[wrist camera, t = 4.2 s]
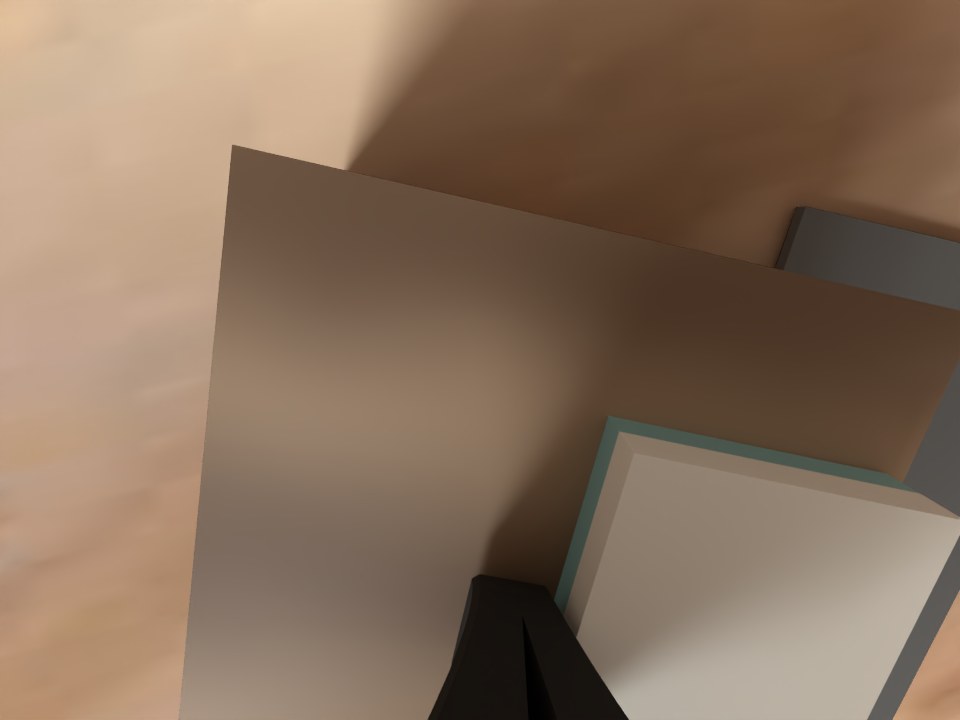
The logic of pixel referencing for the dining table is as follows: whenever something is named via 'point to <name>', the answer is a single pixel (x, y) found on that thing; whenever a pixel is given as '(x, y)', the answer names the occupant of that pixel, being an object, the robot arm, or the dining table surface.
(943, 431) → the mat
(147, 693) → the dining table surface
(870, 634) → the teal and white sponge
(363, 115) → the dining table surface
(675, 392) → the riser
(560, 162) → the dining table surface
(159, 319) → the dining table surface
